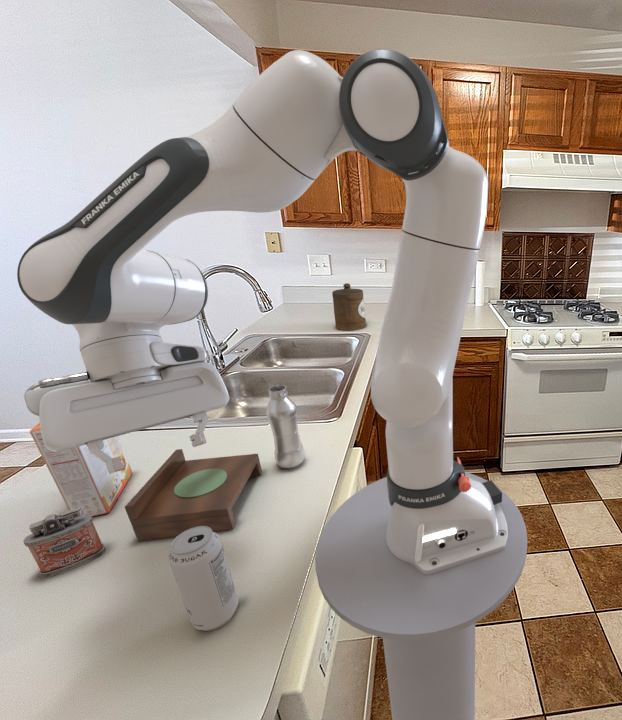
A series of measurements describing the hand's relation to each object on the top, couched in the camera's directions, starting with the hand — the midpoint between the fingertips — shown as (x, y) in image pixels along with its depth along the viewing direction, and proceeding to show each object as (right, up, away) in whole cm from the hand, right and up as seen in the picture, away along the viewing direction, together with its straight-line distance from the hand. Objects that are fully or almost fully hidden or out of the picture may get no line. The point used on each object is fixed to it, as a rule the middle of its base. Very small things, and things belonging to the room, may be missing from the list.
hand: (161, 457), depth 56 cm
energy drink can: (+5, -25, +5) cm, 26 cm away
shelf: (-12, -16, +27) cm, 34 cm away
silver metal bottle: (0, -11, +40) cm, 41 cm away
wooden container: (-21, +31, +147) cm, 151 cm away
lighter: (-25, -21, +13) cm, 36 cm away
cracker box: (-35, -15, +28) cm, 47 cm away
